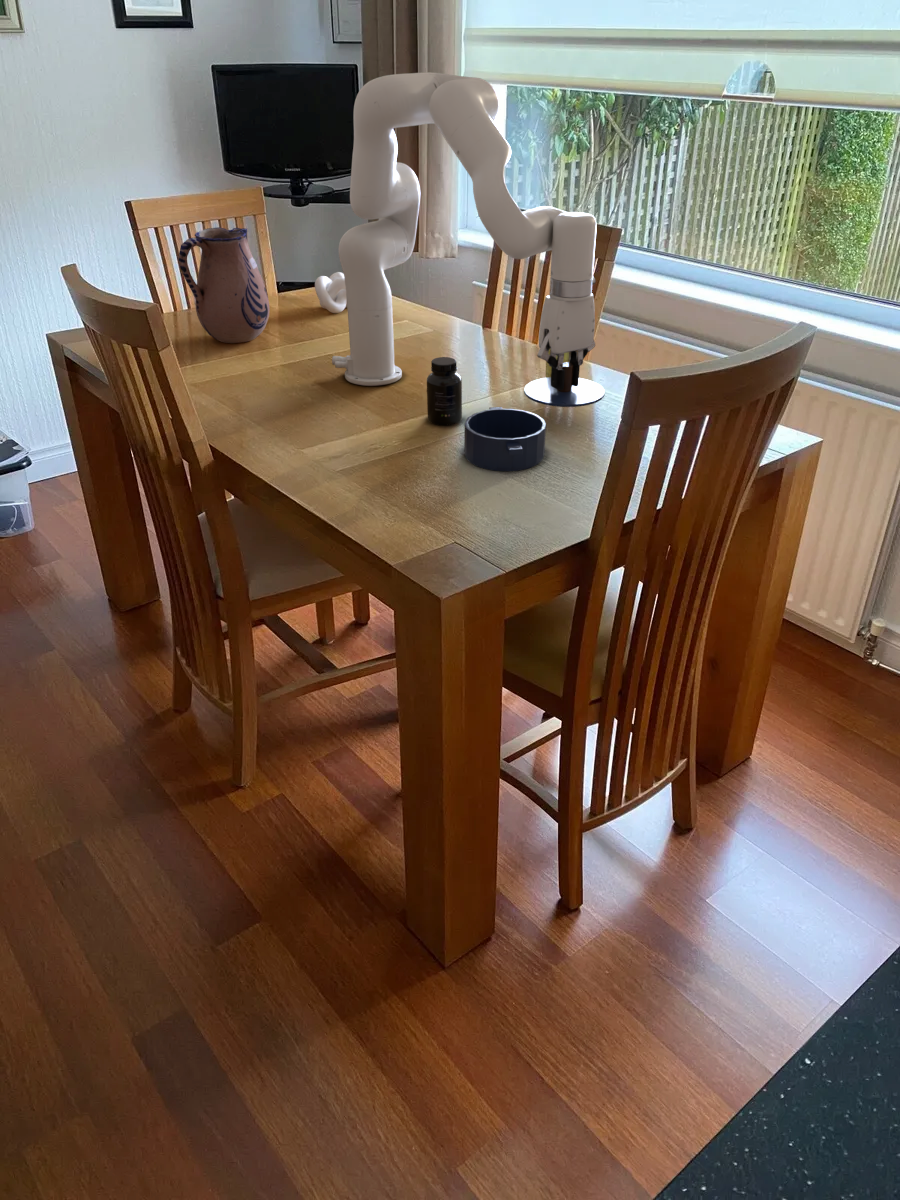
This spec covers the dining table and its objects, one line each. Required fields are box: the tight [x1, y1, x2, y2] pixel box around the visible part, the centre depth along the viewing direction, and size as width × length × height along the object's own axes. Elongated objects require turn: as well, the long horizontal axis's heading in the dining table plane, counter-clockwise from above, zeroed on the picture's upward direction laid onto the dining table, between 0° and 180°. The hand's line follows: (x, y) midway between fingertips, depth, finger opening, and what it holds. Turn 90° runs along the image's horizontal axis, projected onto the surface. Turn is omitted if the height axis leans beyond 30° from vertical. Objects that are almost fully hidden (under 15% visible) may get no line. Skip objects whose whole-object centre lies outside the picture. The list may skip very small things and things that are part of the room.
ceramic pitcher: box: [178, 226, 271, 344], centre depth 214 cm, size 18×21×25 cm
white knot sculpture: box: [314, 271, 347, 314], centre depth 240 cm, size 11×12×9 cm
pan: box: [463, 406, 547, 472], centre depth 161 cm, size 14×20×6 cm
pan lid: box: [523, 362, 606, 408], centre depth 170 cm, size 15×15×6 cm
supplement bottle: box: [426, 356, 463, 427], centre depth 174 cm, size 7×7×12 cm
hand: (564, 385), depth 171 cm, fingers closed on pan lid, 2 cm apart
